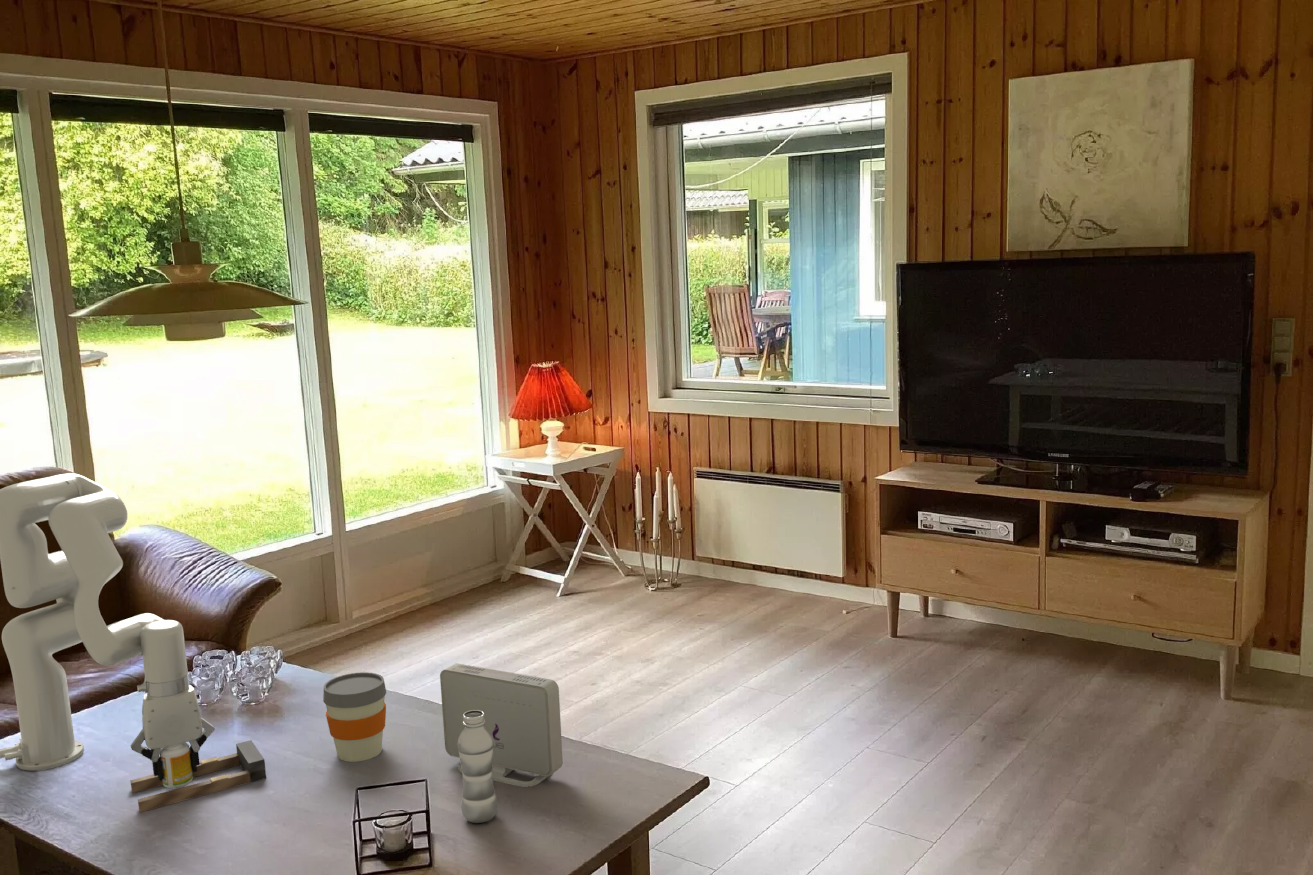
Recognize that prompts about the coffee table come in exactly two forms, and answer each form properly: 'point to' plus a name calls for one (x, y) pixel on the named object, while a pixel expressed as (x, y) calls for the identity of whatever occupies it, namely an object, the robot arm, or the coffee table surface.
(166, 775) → the supplement bottle
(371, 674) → the reusable coffee cup
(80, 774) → the coffee table surface
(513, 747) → the network device
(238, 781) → the guide channel
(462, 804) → the plastic bottle
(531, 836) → the coffee table surface
